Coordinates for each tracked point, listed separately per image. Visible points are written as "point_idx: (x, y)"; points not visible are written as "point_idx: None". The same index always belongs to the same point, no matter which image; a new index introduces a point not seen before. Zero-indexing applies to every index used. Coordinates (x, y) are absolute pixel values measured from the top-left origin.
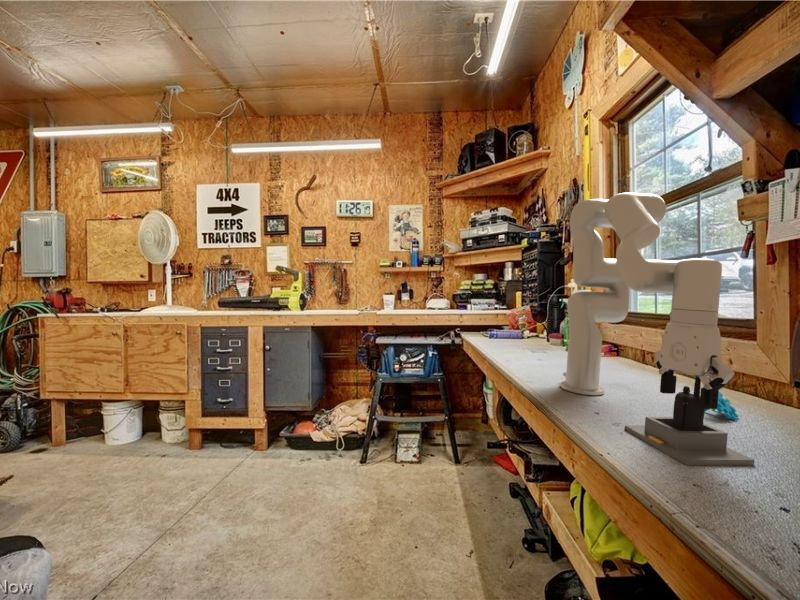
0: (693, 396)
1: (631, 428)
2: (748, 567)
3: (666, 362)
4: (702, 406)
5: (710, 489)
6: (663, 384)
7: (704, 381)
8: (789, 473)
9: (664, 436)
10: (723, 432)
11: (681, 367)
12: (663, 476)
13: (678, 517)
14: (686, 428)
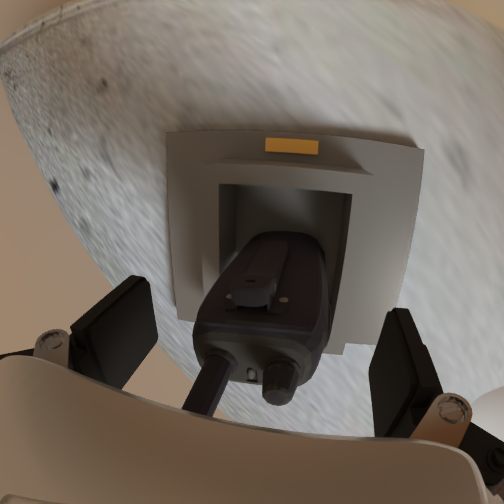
0: (221, 349)
1: (397, 148)
2: (9, 42)
3: (367, 499)
4: (128, 277)
5: (91, 104)
6: (399, 341)
7: (48, 360)
8: (158, 339)
9: (271, 162)
10: None
11: (101, 430)
12: (133, 38)
13: (55, 8)
14: (253, 247)
